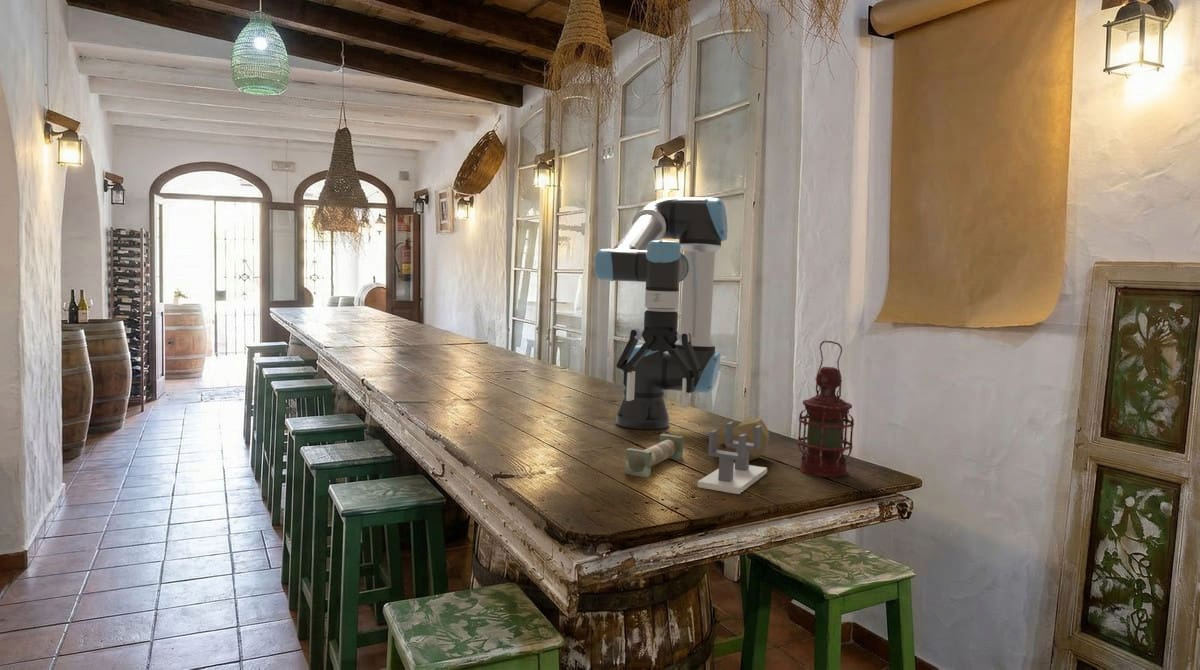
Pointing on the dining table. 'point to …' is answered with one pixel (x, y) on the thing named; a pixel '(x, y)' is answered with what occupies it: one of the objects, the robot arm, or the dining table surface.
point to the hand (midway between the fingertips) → (657, 403)
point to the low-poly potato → (748, 429)
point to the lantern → (826, 426)
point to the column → (653, 455)
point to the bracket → (730, 473)
